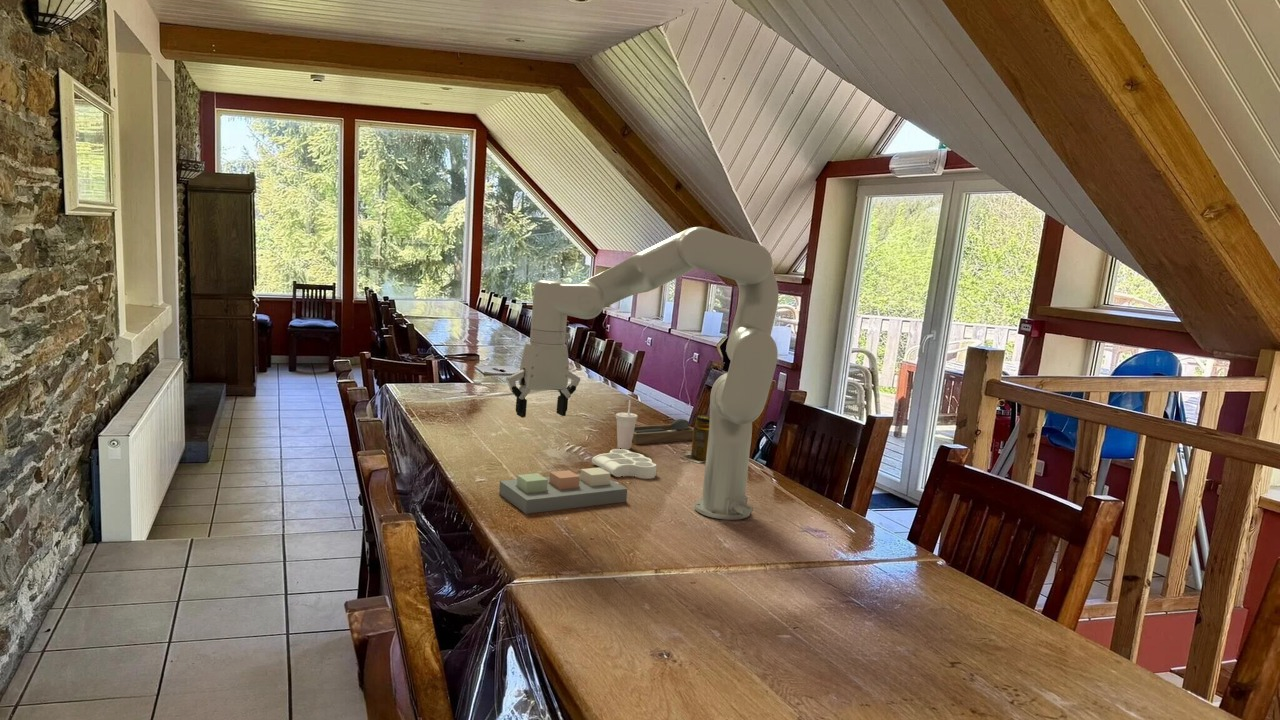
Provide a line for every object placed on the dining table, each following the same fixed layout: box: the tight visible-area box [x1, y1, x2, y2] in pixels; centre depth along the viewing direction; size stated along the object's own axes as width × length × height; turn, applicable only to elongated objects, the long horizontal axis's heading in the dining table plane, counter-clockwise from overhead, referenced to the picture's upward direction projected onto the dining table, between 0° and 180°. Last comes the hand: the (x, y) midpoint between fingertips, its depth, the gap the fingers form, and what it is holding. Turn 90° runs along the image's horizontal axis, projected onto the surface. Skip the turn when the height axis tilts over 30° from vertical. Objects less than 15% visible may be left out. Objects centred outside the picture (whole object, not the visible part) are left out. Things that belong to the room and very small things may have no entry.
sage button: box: [516, 472, 548, 493], centre depth 177 cm, size 5×5×4 cm
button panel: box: [498, 472, 628, 515], centre depth 181 cm, size 14×25×3 cm, turn 123°
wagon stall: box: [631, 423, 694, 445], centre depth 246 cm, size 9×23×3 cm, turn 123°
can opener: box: [634, 418, 689, 433], centre depth 245 cm, size 19×5×6 cm, turn 124°
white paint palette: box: [591, 448, 657, 479], centre depth 209 cm, size 3×18×15 cm
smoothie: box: [615, 399, 639, 450], centre depth 230 cm, size 6×6×14 cm
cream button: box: [580, 466, 611, 486], centre depth 186 cm, size 5×5×4 cm
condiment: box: [679, 414, 710, 464], centre depth 226 cm, size 7×8×12 cm
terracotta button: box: [549, 469, 580, 490], centre depth 181 cm, size 5×5×4 cm
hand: (541, 415), depth 176 cm, fingers open, 9 cm apart
